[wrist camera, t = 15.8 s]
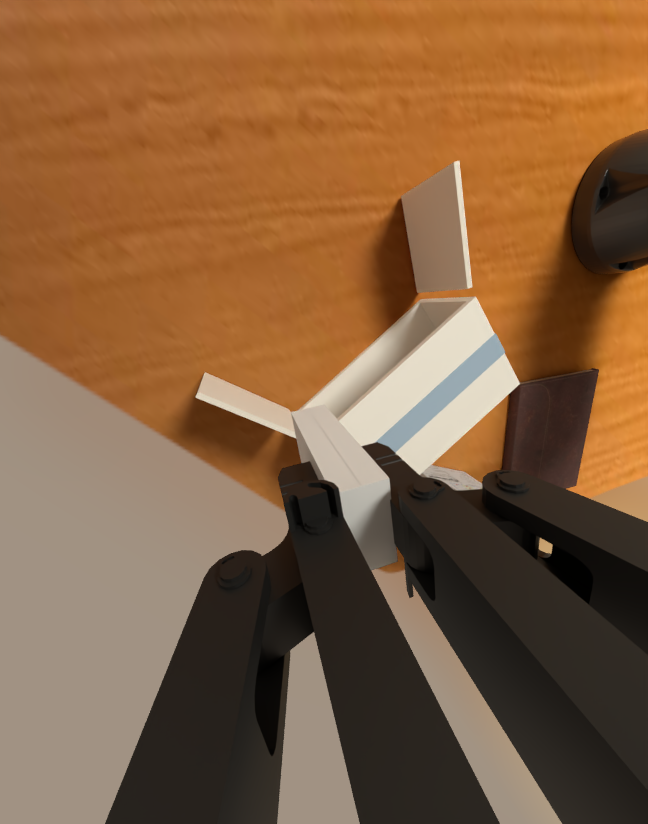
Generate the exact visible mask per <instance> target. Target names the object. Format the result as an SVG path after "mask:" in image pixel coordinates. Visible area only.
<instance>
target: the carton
mask: <svg viewBox="0 0 648 824" xmlns="http://www.w3.org/2000/svg"><path fill="white" fill-rule="evenodd" d="M519 384H520V383H519V381H518V379H517V377H516V375H515V373H514V371H513V369H512V367H511V365H510V363H509V361H508V359H507V357H506V355H505V351H504V349H503V347H502V345H501V343H500V341H499V339H498V337H497V335H496V333H494V332H493V330H492V328H491V326H490V324H489V322H488V320H487V318H486V316H485V314H484V312H483V310H482V308H481V306H480V304H479V302H478V300H477V298H476V297H459V298H437V299H420V300H419V301H418V302H417V303H416V304H415V305H414V306H413V307H412V308H411V309H409V310H408V311H407V312H406V313H405V314H404V315H403V316H402V317H401V318H399V319H398V320H397V321H396V322H395V323H394V324H393V325H392V326H391V327H390V328H388V329H387V330H386V331H385V332H384V333H383V334H382V335H381V336H380V337H378V338H377V339H376V340H375V341H374V342H373V343H372V344H371V345H370V346H369V347H367V348H366V349H365V350H364V351H363V352H362V353H361V354H360V355H359V356H358V357H356V358H355V359H354V360H353V361H352V362H351V363H350V364H349V365H348V366H346V367H345V368H344V369H343V370H342V371H341V372H340V373H339V374H338V375H337V376H335V377H334V378H333V379H332V380H331V381H330V382H329V383H328V384H327V385H325V386H324V387H323V388H322V389H321V390H320V391H319V392H318V393H317V394H316V395H314V396H313V397H312V398H311V399H310V400H309V401H308V402H307V403H306V404H305V405H303V406H302V407H301V408H300V409H299V410H302V409H307V408H311V407H315V406H319V405H325V406H326V407H327V408H328V409H329V410H330V412H331V413H332V414H333V415H334V416H335V417H336V418H337V419H338V421H339V422H340V423H341V424H342V425H343V426H344V427H345V429H346V430H347V431H348V432H349V433H350V434H351V435H352V436H353V438H354V439H355V440H356V441H357V442H358V443H359V444H360V445H361V446H364V445H368V444H372V443H376V442H378V443H381V444H383V445H386V446H389V447H390V448H391V449H392V450H393V451H394V452H395V453H396V455H398V456H399V457H400V458H402V460H404V461H405V462H406V463H407V464H408V465H409V466H410V467H411V468H412V469H413V470H414V471H416V472H417V473H418V474H419V475H420V474H421V473H423V472H424V471H425V470H426V469H427V468H428V467H429V466H430V465H431V464H432V463H434V462H435V461H436V460H437V459H438V458H439V457H440V456H441V455H442V454H443V453H445V452H446V451H447V450H448V449H449V448H450V447H451V446H452V445H453V444H454V443H456V442H457V441H458V440H459V439H460V438H461V437H462V436H463V435H464V434H465V433H467V432H468V431H469V430H470V429H471V428H472V427H473V426H474V425H475V424H476V423H478V422H479V421H480V420H481V419H482V418H483V417H484V416H485V415H486V414H487V413H489V412H490V411H491V410H492V409H493V408H494V407H495V406H496V405H497V404H498V403H500V402H501V401H502V400H503V399H504V398H505V397H506V396H507V395H508V394H509V393H511V392H512V391H513V390H514V389H515V388H516V387H517V386H518V385H519Z"/></svg>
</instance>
